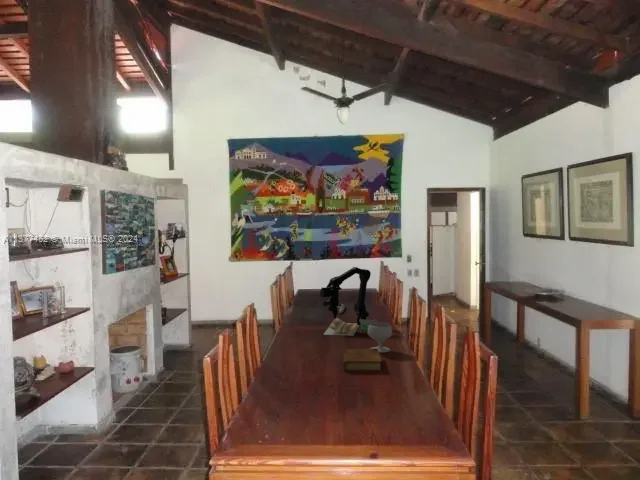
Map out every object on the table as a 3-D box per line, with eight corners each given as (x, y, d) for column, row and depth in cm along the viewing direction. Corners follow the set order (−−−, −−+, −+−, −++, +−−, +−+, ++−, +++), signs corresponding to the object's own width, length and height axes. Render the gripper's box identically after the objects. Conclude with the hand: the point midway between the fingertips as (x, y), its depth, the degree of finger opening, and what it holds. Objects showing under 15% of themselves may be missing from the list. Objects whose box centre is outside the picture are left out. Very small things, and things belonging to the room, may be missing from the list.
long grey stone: (330, 316, 378) (343, 317, 377) (330, 310, 377) (343, 310, 376) (334, 306, 413) (345, 306, 411) (334, 300, 412) (346, 300, 411)
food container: (356, 334, 311) (356, 319, 311) (360, 332, 317) (359, 317, 316) (374, 336, 305) (373, 320, 305) (377, 334, 311) (377, 319, 310)
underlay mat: (358, 325, 336) (358, 325, 336) (353, 336, 307) (353, 335, 307) (331, 325, 340) (331, 324, 340) (323, 335, 311) (323, 334, 311)
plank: (344, 325, 335) (345, 322, 335) (339, 333, 312) (340, 330, 311) (334, 319, 336) (336, 317, 336) (328, 327, 313) (330, 324, 312)
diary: (343, 359, 259) (343, 348, 258) (377, 359, 258) (377, 348, 258) (343, 372, 236) (343, 360, 235) (381, 372, 235) (381, 360, 235)
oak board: (357, 326, 333) (357, 323, 333) (352, 334, 310) (352, 331, 310) (346, 325, 335) (346, 323, 335) (341, 333, 311) (341, 330, 311)
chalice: (393, 347, 277) (393, 322, 277) (390, 354, 264) (390, 327, 263) (369, 346, 281) (369, 321, 281) (365, 352, 268) (365, 326, 267)
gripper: (325, 294, 340) (326, 315, 341) (320, 298, 322) (321, 321, 322) (341, 294, 338) (341, 316, 339) (337, 298, 320) (337, 321, 320)
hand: (335, 318), depth 330 cm, fingers closed
